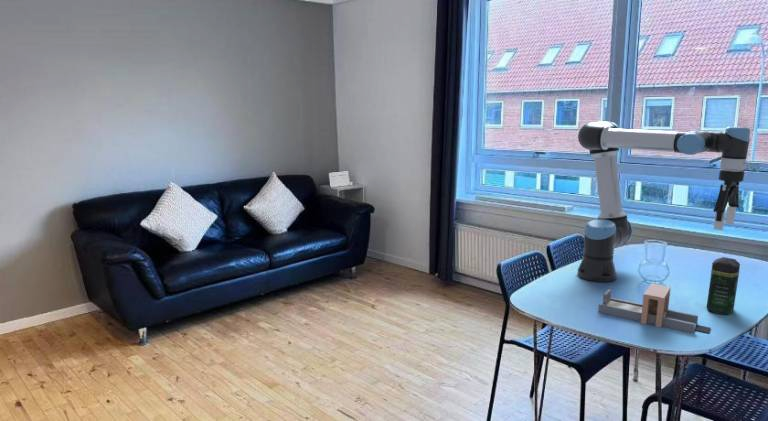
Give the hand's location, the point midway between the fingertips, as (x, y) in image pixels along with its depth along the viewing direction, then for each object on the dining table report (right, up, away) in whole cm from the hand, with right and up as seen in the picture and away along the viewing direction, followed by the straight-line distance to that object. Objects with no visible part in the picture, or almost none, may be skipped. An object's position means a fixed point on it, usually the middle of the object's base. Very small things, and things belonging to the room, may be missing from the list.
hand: (723, 226), depth 192 cm
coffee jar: (-8, -29, -10) cm, 32 cm away
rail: (-37, -30, -16) cm, 51 cm away
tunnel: (-35, -31, -18) cm, 50 cm away
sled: (-40, -29, -14) cm, 51 cm away
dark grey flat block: (-24, -32, -26) cm, 48 cm away
